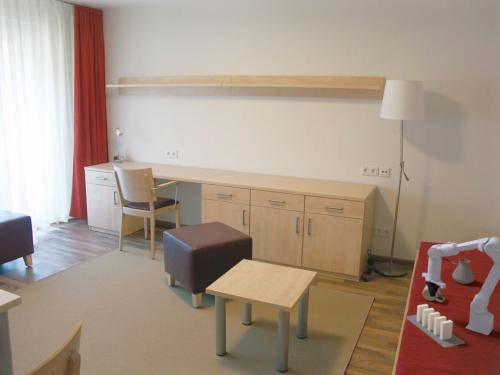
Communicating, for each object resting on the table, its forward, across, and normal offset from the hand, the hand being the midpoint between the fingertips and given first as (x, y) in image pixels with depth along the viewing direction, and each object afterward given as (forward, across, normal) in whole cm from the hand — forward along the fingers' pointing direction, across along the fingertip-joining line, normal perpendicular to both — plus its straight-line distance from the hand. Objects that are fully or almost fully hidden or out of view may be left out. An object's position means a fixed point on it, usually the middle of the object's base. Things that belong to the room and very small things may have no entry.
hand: (432, 296), depth 211 cm
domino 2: (+10, +7, -8) cm, 15 cm away
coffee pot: (+11, -30, +39) cm, 51 cm away
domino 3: (+10, +11, -8) cm, 17 cm away
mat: (+10, +11, -8) cm, 17 cm away
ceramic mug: (+11, -14, +13) cm, 22 cm away
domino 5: (+10, +19, -8) cm, 23 cm away
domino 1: (+10, +3, -8) cm, 13 cm away
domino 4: (+10, +15, -8) cm, 20 cm away
